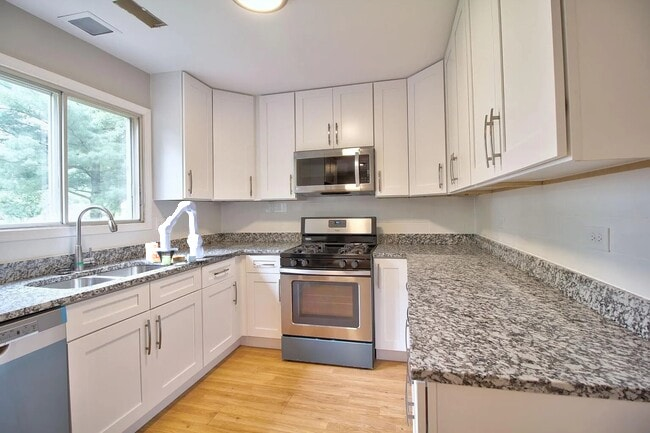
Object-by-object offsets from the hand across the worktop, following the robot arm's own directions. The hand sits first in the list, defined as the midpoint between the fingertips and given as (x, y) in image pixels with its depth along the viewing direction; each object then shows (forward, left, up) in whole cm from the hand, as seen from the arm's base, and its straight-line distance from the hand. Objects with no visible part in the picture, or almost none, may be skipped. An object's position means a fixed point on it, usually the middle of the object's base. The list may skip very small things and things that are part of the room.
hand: (166, 262), depth 203 cm
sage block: (0, 0, -1) cm, 1 cm away
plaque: (-9, +7, -1) cm, 11 cm away
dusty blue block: (-16, +1, -2) cm, 16 cm away
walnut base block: (-8, -8, -2) cm, 11 cm away
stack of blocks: (+7, -23, -2) cm, 24 cm away
